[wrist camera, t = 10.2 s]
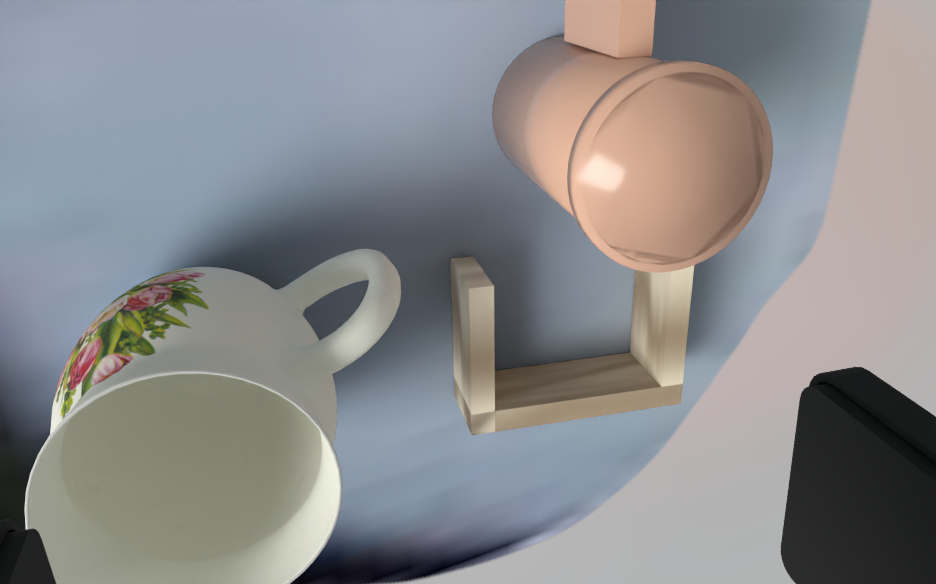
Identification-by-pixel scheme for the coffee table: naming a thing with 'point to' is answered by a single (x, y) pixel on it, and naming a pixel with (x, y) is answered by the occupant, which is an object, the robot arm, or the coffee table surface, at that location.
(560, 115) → the peach cylinder
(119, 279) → the coffee table surface
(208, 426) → the pitcher
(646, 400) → the holder
